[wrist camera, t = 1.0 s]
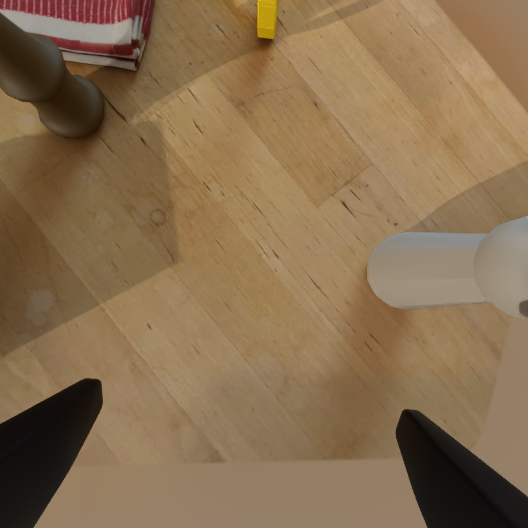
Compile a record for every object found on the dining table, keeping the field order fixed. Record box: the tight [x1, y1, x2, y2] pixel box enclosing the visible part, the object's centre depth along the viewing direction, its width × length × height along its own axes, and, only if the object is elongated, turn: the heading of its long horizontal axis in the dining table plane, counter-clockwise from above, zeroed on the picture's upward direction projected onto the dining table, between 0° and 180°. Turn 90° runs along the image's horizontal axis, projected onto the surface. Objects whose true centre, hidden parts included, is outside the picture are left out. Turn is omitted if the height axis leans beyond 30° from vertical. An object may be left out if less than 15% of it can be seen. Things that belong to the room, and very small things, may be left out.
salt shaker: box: [367, 216, 528, 319], centre depth 16 cm, size 6×6×13 cm
